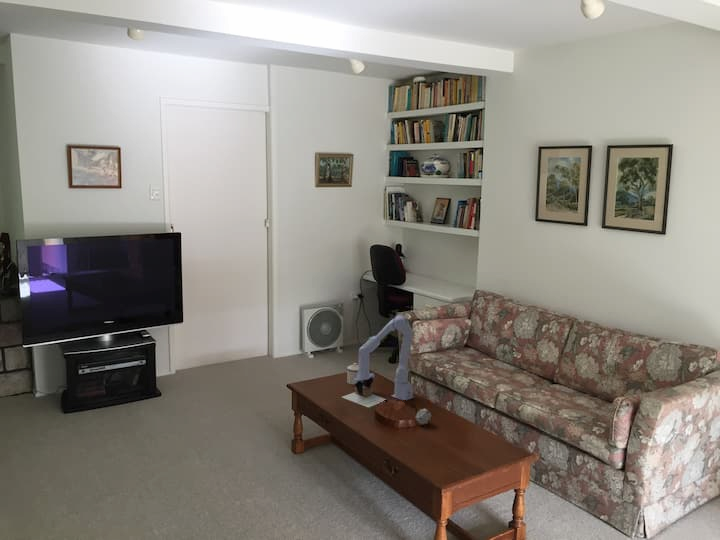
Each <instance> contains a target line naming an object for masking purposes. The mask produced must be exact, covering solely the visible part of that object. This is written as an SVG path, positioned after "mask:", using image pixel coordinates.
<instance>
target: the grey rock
mask: <svg viewBox="0 0 720 540" xmlns="http://www.w3.org/2000/svg"><path fill="white" fill-rule="evenodd" d="M432 416H434V414H432V413H431V412H430V411H429V410H428V408H427V406H425V408H421V409H419V408H417V412H416V414H415V417H413V418H412V419H413V420H416V421H417V422H418V424H419V425H420V427H422V426H423V425H427V424H428V425H430V423H431V420H432V419H431V418H432Z"/></svg>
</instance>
